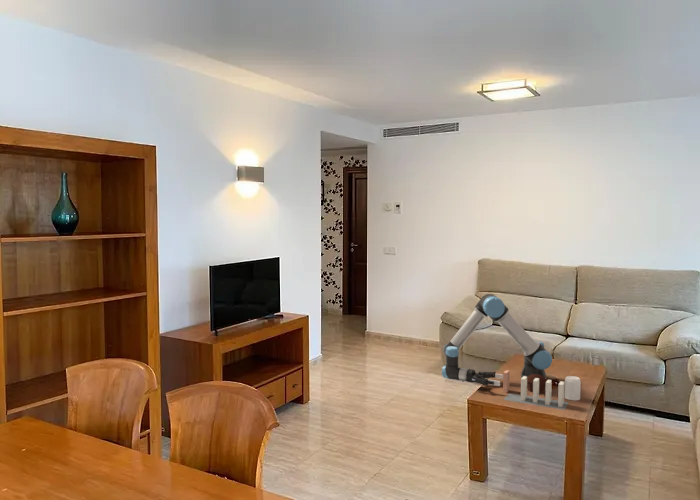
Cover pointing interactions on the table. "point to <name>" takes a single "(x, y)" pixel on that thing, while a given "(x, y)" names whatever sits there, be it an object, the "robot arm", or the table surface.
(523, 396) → the domino
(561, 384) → the domino
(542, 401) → the mat
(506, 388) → the domino
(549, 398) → the domino
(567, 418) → the table surface
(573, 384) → the beverage can
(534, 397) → the domino
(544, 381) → the muffin
